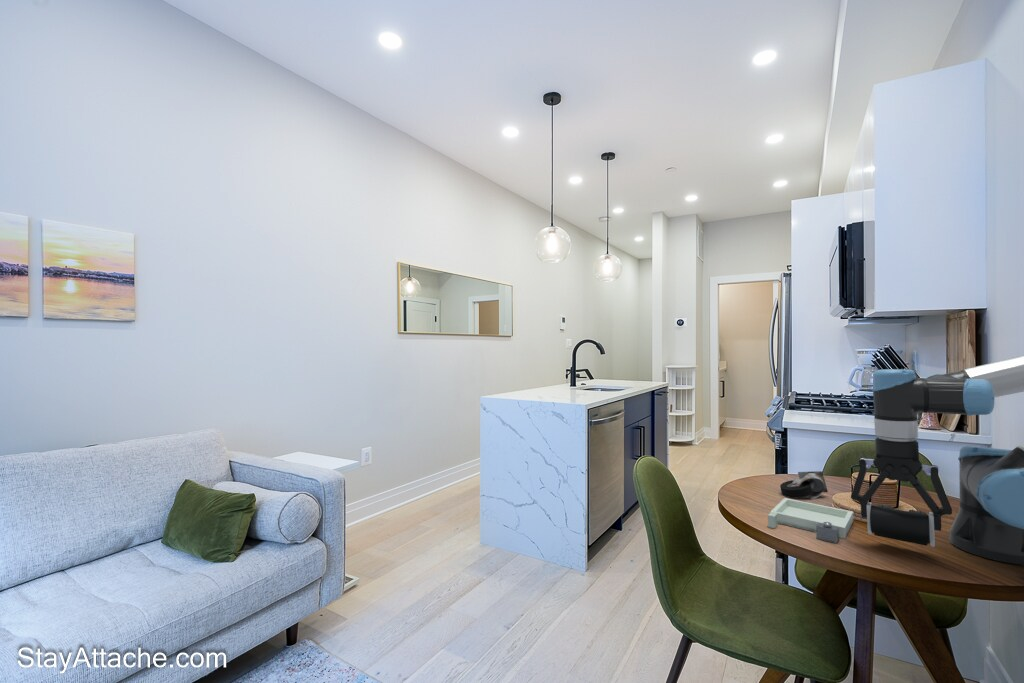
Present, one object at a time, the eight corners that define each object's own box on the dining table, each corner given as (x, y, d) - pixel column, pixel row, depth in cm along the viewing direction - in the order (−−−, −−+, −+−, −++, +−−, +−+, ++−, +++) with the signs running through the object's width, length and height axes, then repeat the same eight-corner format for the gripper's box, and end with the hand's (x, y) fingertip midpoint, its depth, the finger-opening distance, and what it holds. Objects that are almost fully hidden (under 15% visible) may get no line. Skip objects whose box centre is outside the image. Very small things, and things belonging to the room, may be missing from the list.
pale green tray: (853, 521, 123) (853, 510, 123) (841, 544, 109) (841, 531, 109) (784, 507, 134) (784, 496, 134) (765, 526, 120) (765, 514, 120)
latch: (838, 539, 112) (838, 523, 112) (836, 543, 110) (836, 527, 110) (818, 534, 115) (818, 519, 115) (816, 538, 112) (816, 522, 112)
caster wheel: (781, 504, 144) (787, 491, 152) (824, 505, 137) (828, 491, 144) (775, 483, 144) (781, 471, 152) (818, 482, 137) (822, 470, 145)
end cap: (870, 538, 106) (869, 508, 106) (874, 529, 111) (873, 501, 111) (929, 551, 99) (928, 518, 99) (931, 541, 104) (930, 510, 104)
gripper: (965, 441, 101) (970, 545, 100) (838, 431, 116) (841, 522, 116) (966, 446, 95) (972, 557, 95) (833, 435, 111) (836, 531, 110)
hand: (900, 538), depth 105 cm, fingers closed on end cap, 10 cm apart
